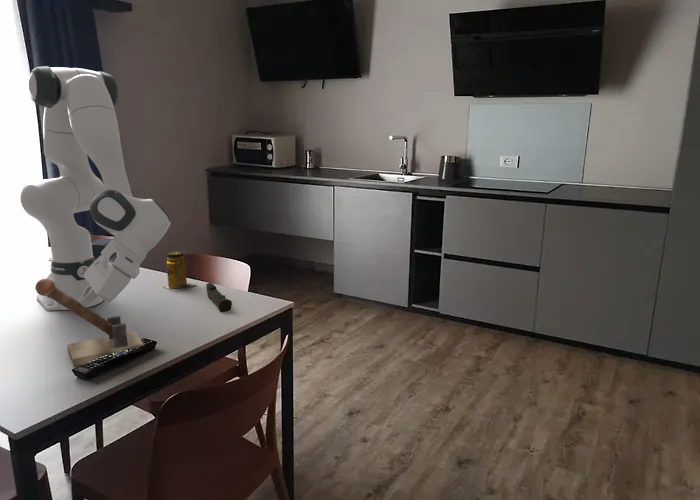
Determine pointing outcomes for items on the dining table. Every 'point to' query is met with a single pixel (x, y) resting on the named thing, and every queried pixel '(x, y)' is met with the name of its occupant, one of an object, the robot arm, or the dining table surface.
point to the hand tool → (218, 298)
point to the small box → (99, 246)
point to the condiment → (176, 272)
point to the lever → (72, 305)
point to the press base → (104, 343)
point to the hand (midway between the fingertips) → (81, 304)
